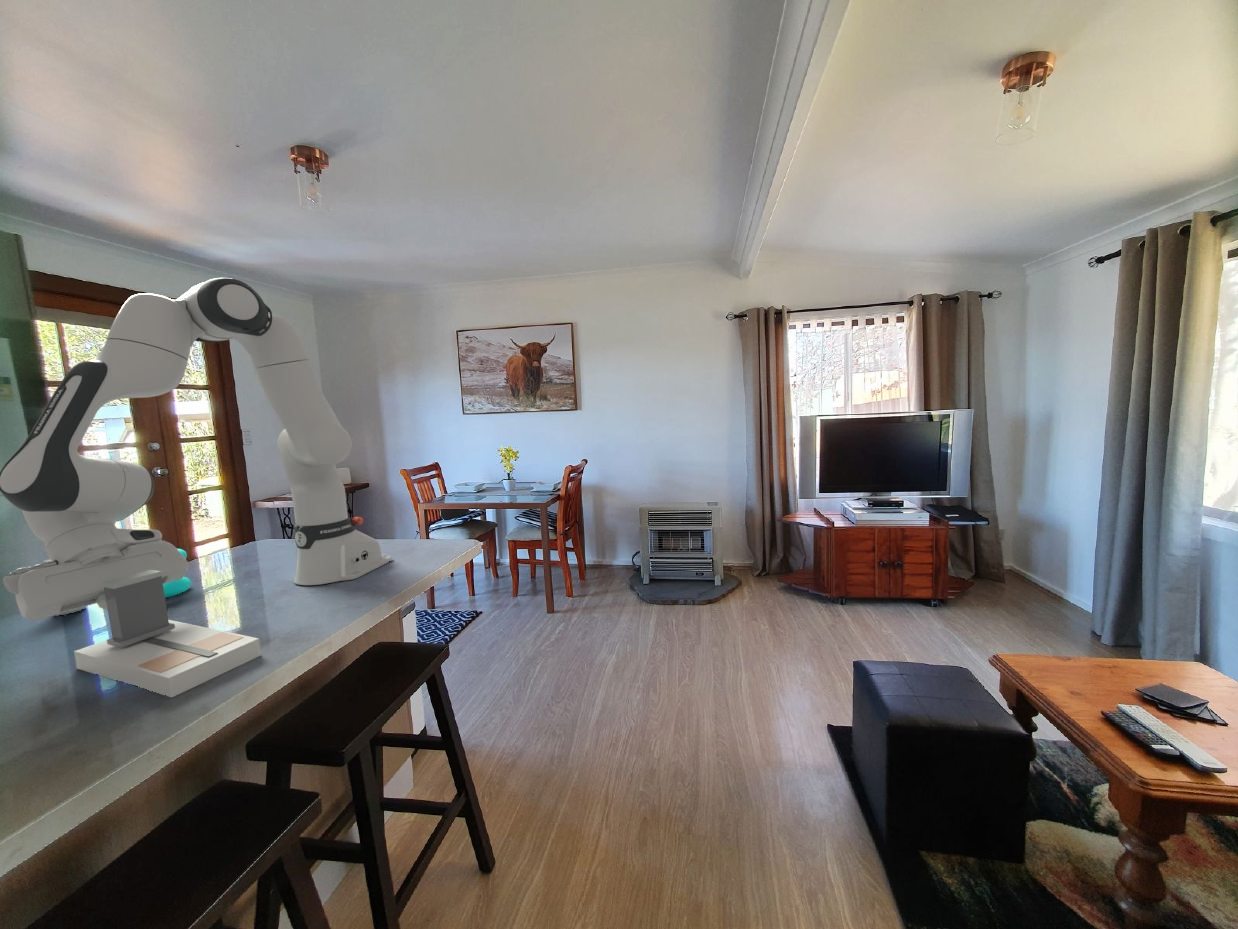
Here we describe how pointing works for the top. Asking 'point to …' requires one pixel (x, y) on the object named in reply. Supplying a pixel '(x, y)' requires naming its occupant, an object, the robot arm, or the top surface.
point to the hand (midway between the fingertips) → (131, 613)
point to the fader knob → (136, 607)
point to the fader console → (170, 658)
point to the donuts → (177, 583)
